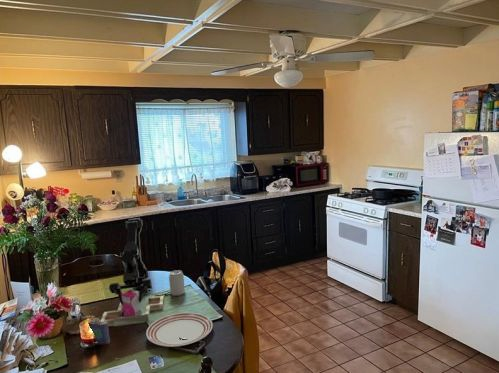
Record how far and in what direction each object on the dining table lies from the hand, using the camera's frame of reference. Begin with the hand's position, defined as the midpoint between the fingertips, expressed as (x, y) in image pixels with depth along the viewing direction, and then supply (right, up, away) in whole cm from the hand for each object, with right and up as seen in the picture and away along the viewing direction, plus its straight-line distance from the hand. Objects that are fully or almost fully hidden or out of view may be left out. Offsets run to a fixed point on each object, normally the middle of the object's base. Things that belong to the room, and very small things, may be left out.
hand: (130, 303), depth 171 cm
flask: (-7, -11, -17) cm, 21 cm away
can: (+16, -3, +27) cm, 32 cm away
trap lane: (-1, -7, +8) cm, 11 cm away
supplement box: (0, -7, +2) cm, 7 cm away
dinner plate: (+25, -9, -14) cm, 30 cm away
